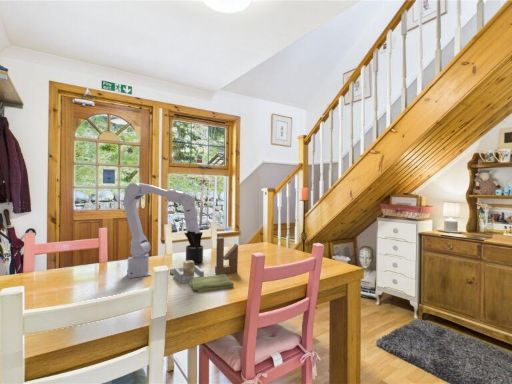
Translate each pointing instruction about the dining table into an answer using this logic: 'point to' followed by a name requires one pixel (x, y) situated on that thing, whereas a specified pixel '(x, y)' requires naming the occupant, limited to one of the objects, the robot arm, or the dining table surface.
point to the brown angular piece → (226, 258)
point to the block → (188, 268)
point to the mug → (194, 254)
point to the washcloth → (211, 283)
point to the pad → (173, 270)
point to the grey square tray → (185, 279)
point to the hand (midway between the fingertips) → (195, 246)
